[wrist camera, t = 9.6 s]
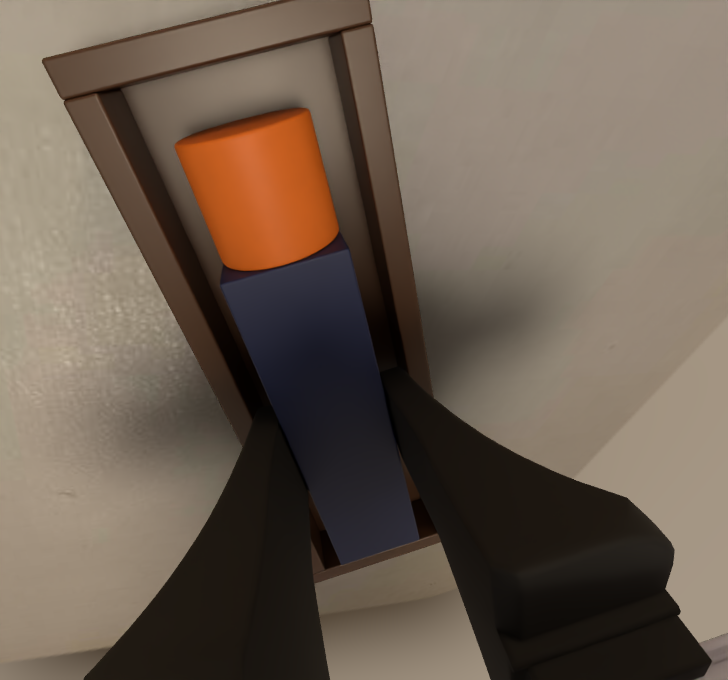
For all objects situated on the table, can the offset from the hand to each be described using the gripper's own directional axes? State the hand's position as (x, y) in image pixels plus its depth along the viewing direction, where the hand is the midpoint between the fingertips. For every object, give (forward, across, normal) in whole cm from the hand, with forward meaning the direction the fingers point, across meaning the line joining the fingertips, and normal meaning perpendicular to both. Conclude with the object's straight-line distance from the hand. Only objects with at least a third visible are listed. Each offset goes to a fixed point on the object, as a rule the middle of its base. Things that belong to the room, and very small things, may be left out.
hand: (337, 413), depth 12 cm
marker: (+1, 0, -1) cm, 2 cm away
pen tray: (+2, 0, -1) cm, 2 cm away
